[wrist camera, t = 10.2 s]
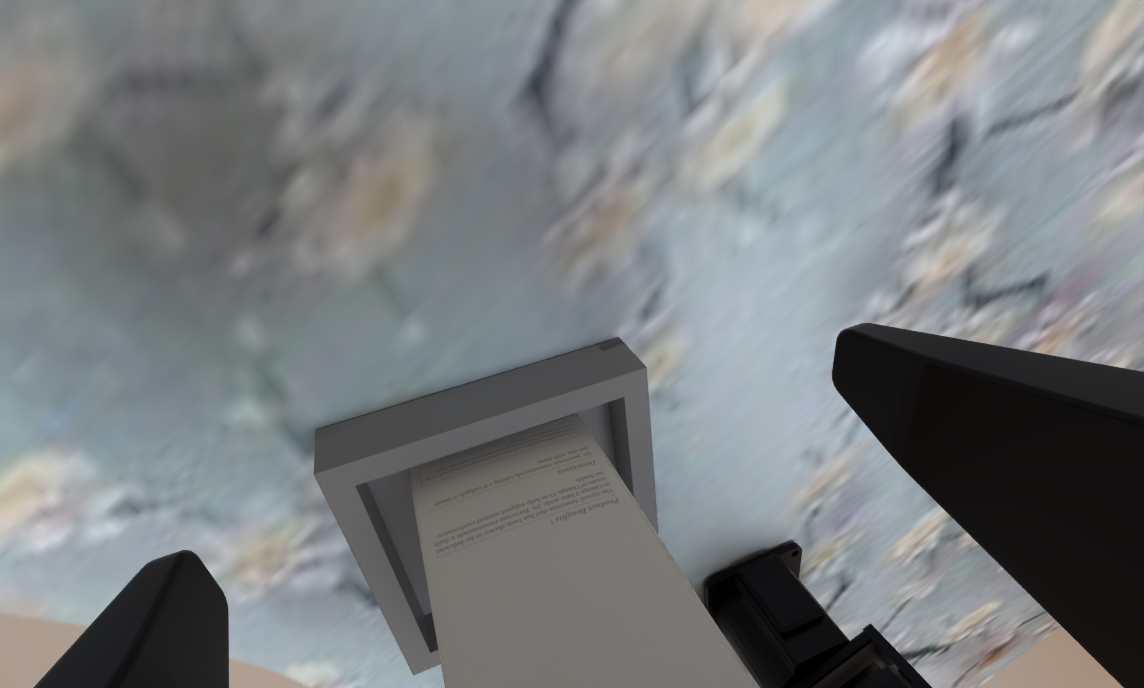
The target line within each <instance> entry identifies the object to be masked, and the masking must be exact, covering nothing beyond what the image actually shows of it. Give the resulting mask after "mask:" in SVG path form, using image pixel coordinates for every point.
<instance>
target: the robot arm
mask: <svg viewBox="0 0 1144 688" xmlns="http://www.w3.org/2000/svg"><path fill="white" fill-rule="evenodd" d="M832 380H833V383H834V386H835V388H836V390H837V391H838V392H839V394H840V395H841V396H842V397H843V398H844V399H845V401H846V402H847V403H848V404H849V405H850V407H851V408H852V409H853V410H854V411H855V413H856V414H857V415H858V416H859V417H860V419H861V420H862V421H863V422H864V423H865V425H866V426H867V427H868V428H869V429H870V431H871V432H872V433H873V434H874V435H875V437H876V438H877V439H878V440H879V441H880V443H881V444H882V445H883V446H884V447H885V449H886V450H887V451H888V452H889V453H890V454H891V456H892V457H893V458H894V459H895V460H896V461H897V462H898V464H899V465H900V466H901V467H902V468H903V469H904V470H905V471H906V472H907V473H908V474H909V475H910V476H911V477H912V478H913V479H914V480H915V481H916V482H917V483H918V484H919V485H920V486H921V487H922V488H923V489H924V490H925V491H926V492H927V493H928V494H929V495H930V496H931V497H932V498H933V499H934V500H935V501H936V502H937V503H938V504H939V505H940V506H941V507H942V508H943V509H944V510H945V511H946V512H947V513H948V514H949V515H950V516H951V517H952V518H953V519H954V520H955V521H956V522H957V523H958V524H959V525H960V526H961V527H962V528H963V529H964V530H965V531H966V532H967V533H968V534H969V535H970V536H971V537H972V538H973V539H974V540H975V541H976V542H977V543H978V544H979V545H980V546H981V547H982V548H983V549H984V550H985V551H986V552H987V553H988V554H989V555H990V556H991V557H992V558H993V559H994V560H995V561H996V562H997V563H998V564H999V565H1001V566H1002V567H1003V568H1004V569H1005V570H1006V571H1007V572H1008V573H1009V574H1010V575H1011V576H1012V577H1013V578H1014V579H1015V580H1016V581H1017V582H1018V583H1019V584H1020V585H1021V586H1022V587H1023V588H1024V589H1025V590H1026V591H1027V592H1028V593H1029V594H1030V595H1031V596H1032V597H1033V598H1034V599H1035V600H1036V601H1037V602H1038V603H1039V604H1040V605H1041V606H1042V607H1043V608H1044V609H1045V610H1046V611H1047V612H1048V613H1049V614H1050V615H1051V616H1052V617H1053V618H1054V619H1055V620H1056V621H1057V622H1058V623H1059V624H1060V625H1061V626H1062V627H1063V628H1064V629H1065V630H1066V631H1067V632H1068V633H1069V634H1070V635H1071V636H1072V637H1073V638H1074V639H1075V640H1076V641H1077V642H1078V643H1079V644H1080V645H1081V646H1082V647H1083V648H1084V649H1085V650H1086V651H1087V652H1088V653H1089V654H1090V655H1091V656H1092V657H1093V658H1095V660H1096V661H1097V662H1098V663H1099V664H1101V666H1102V667H1103V668H1104V669H1105V670H1106V671H1107V672H1108V673H1109V674H1110V675H1111V676H1113V677H1114V678H1115V679H1116V680H1117V681H1118V682H1119V683H1120V684H1121V685H1122V686H1123V687H1124V688H1144V372H1142V371H1136V370H1130V369H1125V368H1119V367H1114V366H1108V365H1102V364H1097V363H1091V362H1086V361H1080V360H1074V359H1069V358H1063V357H1058V356H1052V355H1046V354H1041V353H1035V352H1029V351H1024V350H1018V349H1013V348H1007V347H1001V346H996V345H990V344H985V343H979V342H973V341H968V340H962V339H956V338H951V337H945V336H940V335H934V334H928V333H923V332H917V331H912V330H906V329H900V328H895V327H889V326H884V325H878V324H872V323H862V324H858V325H855V326H852V327H849V328H846V329H844V330H842V331H841V332H840V333H839V335H838V337H837V340H836V347H835V354H834V362H833V369H832ZM801 555H802V548H801V547H800V546H799V545H798V544H797V543H791V544H788V545H786V546H784V547H781V548H779V549H777V550H774V551H772V552H770V553H767V554H765V555H763V556H760V557H758V558H756V559H753V560H751V561H749V562H746V563H744V564H742V565H739V566H737V567H735V568H732V569H730V570H728V571H725V572H723V573H721V574H718V575H716V576H714V577H712V578H710V579H708V580H707V581H706V583H705V608H706V610H707V611H708V613H709V614H710V616H711V617H712V619H713V620H714V622H715V623H716V625H717V626H718V628H719V629H720V631H721V632H722V634H723V635H724V637H725V638H726V640H727V641H728V643H729V644H730V646H731V647H732V649H733V650H734V652H735V653H736V655H737V656H738V658H739V659H740V660H741V662H742V663H743V665H744V666H745V667H746V669H747V670H748V672H749V673H750V674H751V676H752V677H753V679H754V680H755V681H756V683H757V684H758V685H759V687H760V688H932V687H931V686H930V685H929V684H928V683H927V682H926V681H925V680H924V679H923V678H922V676H921V675H920V674H919V673H918V672H917V671H916V670H915V669H914V668H913V667H912V666H911V665H910V664H909V663H908V662H907V661H906V660H905V659H904V658H903V657H902V656H901V655H900V654H899V653H898V652H897V651H896V649H895V648H894V647H893V646H892V645H891V644H890V643H889V642H888V641H887V640H886V639H885V638H884V637H883V636H882V635H881V634H880V633H879V632H878V631H877V630H876V629H875V628H874V627H873V626H872V625H871V624H869V625H868V626H866V627H865V628H864V629H863V632H862V633H860V634H859V635H858V636H856V637H855V638H854V639H852V640H851V641H850V640H849V639H848V638H847V637H846V636H845V635H844V633H843V632H842V631H841V630H840V629H839V627H838V626H837V625H836V624H835V623H834V621H833V620H832V619H831V618H830V617H829V615H828V614H827V613H826V612H825V611H824V609H823V608H822V606H821V605H820V604H819V603H818V602H817V600H816V599H815V598H814V597H813V596H812V594H811V593H810V592H809V591H808V590H807V589H806V587H805V586H804V585H803V584H802V583H801V581H800V580H799V571H800V563H801ZM34 688H229V626H228V605H227V601H226V597H225V595H224V593H223V591H222V589H221V588H220V587H219V585H218V584H217V582H216V581H215V580H214V578H213V577H212V575H211V574H210V572H209V571H208V570H207V568H206V567H205V565H204V564H203V563H202V561H201V560H200V558H199V557H198V556H197V555H196V554H195V553H194V552H192V551H189V550H182V551H179V552H176V553H173V554H170V555H167V556H164V557H161V558H158V559H155V560H153V561H151V562H149V563H147V564H146V565H145V566H144V567H143V568H142V569H141V570H140V571H139V572H138V573H137V574H136V575H135V577H134V578H133V579H132V580H131V581H130V582H129V583H128V584H127V585H126V586H125V588H124V589H123V590H122V591H121V592H120V593H119V594H118V595H117V596H116V597H115V599H114V600H113V601H112V602H111V603H110V604H109V605H108V606H107V607H106V608H105V610H104V611H103V612H102V613H101V614H100V615H99V616H98V617H97V618H96V619H95V621H94V622H93V623H92V624H91V625H90V626H89V627H88V628H87V629H86V630H85V632H84V633H83V634H82V635H81V636H80V637H79V638H78V639H77V641H76V642H75V643H74V644H73V645H72V646H71V647H70V648H69V649H68V650H67V651H66V653H65V654H64V655H63V656H62V657H61V658H60V659H59V660H58V661H57V662H56V664H55V665H54V666H53V667H52V668H51V669H50V670H49V671H48V672H47V673H46V675H45V676H44V677H43V678H42V679H41V680H40V681H39V682H38V683H37V684H36V686H35V687H34Z"/></svg>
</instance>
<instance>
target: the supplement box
mask: <svg viewBox="0 0 1144 688" xmlns="http://www.w3.org/2000/svg"><path fill="white" fill-rule="evenodd" d="M408 475H409V482H410V487H411V493H412V499H413V504H414V510H415V516H416V521H417V527H418V533H419V539H420V544H421V550H422V556H423V562H424V568H425V574H426V580H427V585H428V591H429V597H430V603H431V609H432V615H433V621H434V626H435V632H436V638H437V644H438V649H439V655H440V661H441V667H442V672H443V678H444V684H445V688H760V687H759V685H758V684H757V683H756V681H755V680H754V679H753V677H752V676H751V674H750V673H749V672H748V670H747V669H746V667H745V666H744V665H743V663H742V662H741V660H740V659H739V658H738V656H737V655H736V653H735V652H734V650H733V649H732V647H731V646H730V644H729V643H728V641H727V640H726V638H725V637H724V635H723V634H722V632H721V631H720V629H719V628H718V626H717V625H716V623H715V622H714V620H713V619H712V617H711V616H710V614H709V613H708V611H707V610H706V608H705V607H704V605H703V604H702V602H701V600H700V599H699V597H698V596H697V594H696V593H695V591H694V590H693V588H692V586H691V585H690V583H689V582H688V580H687V579H686V577H685V576H684V574H683V573H682V571H681V570H680V568H679V567H678V565H677V563H676V562H675V560H674V559H673V557H672V556H671V554H670V553H669V551H668V550H667V548H666V547H665V545H664V543H663V542H662V540H661V539H660V537H659V536H658V534H657V532H656V531H655V529H654V528H653V526H652V525H651V523H650V522H649V520H648V519H647V517H646V516H645V514H644V513H643V511H642V510H641V508H640V507H639V505H638V503H637V502H636V500H635V499H634V497H633V496H632V494H631V493H630V491H629V490H628V488H627V487H626V485H625V484H624V482H623V480H622V479H621V477H620V476H619V474H618V473H617V471H616V470H615V468H614V467H613V465H612V464H611V462H610V461H609V459H608V458H607V456H606V455H605V454H604V452H603V451H602V449H601V448H600V447H599V445H598V444H597V442H596V440H595V439H594V437H593V436H592V434H591V433H590V431H589V430H588V428H587V427H586V425H585V424H584V423H583V421H582V420H581V418H580V417H579V415H578V414H573V415H570V416H567V417H564V418H561V419H558V420H555V421H551V422H548V423H545V424H542V425H539V426H536V427H533V428H529V429H526V430H523V431H520V432H517V433H514V434H511V435H508V436H505V437H502V438H498V439H495V440H492V441H489V442H486V443H483V444H480V445H477V446H474V447H471V448H468V449H465V450H462V451H459V452H456V453H453V454H450V455H447V456H444V457H441V458H438V459H435V460H432V461H429V462H426V463H423V464H420V465H417V466H414V467H411V468H408Z"/></svg>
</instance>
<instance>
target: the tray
mask: <svg viewBox="0 0 1144 688" xmlns="http://www.w3.org/2000/svg"><path fill="white" fill-rule="evenodd" d="M573 414H578V415H579V417H580V418H581V420H582V421H583V423H584V424H585V425H586V427H587V428H588V430H589V431H590V433H591V434H592V436H593V437H594V439H595V440H596V442H597V444H598V445H599V447H600V448H601V449H602V451H603V452H604V454H605V455H606V456H607V458H608V459H609V461H610V462H611V464H612V465H613V467H614V468H615V470H616V471H617V473H618V474H619V476H620V477H621V479H622V480H623V482H624V484H625V485H626V487H627V488H628V490H629V491H630V493H631V494H632V496H633V497H634V499H635V500H636V502H637V503H638V505H639V507H640V508H641V510H642V511H643V513H644V514H645V516H646V517H647V519H648V520H649V522H650V523H651V525H652V526H653V528H654V529H655V531H656V532H657V534H658V523H657V508H656V494H655V480H654V466H653V452H652V437H651V423H650V409H649V395H648V381H647V367H646V366H645V365H644V364H643V363H642V362H641V361H640V360H639V359H638V357H637V356H636V355H635V354H634V353H633V352H632V351H631V350H630V349H629V348H628V347H627V346H626V344H625V343H624V342H623V341H622V340H621V339H620V338H616V339H613V340H609V341H606V342H603V343H600V344H596V345H593V346H590V347H587V348H583V349H580V350H577V351H573V352H570V353H567V354H564V355H560V356H557V357H554V358H550V359H547V360H544V361H541V362H537V363H534V364H531V365H527V366H524V367H521V368H518V369H514V370H511V371H508V372H504V373H501V374H498V375H495V376H491V377H488V378H485V379H481V380H478V381H475V382H472V383H468V384H465V385H462V386H458V387H455V388H452V389H449V390H445V391H442V392H439V393H436V394H432V395H429V396H426V397H422V398H419V399H416V400H413V401H409V402H406V403H403V404H399V405H396V406H393V407H390V408H386V409H383V410H380V411H376V412H373V413H370V414H367V415H363V416H360V417H357V418H353V419H350V420H347V421H344V422H340V423H337V424H334V425H330V426H327V427H324V428H321V429H317V430H316V439H315V461H314V476H315V478H316V480H317V482H318V484H319V486H320V488H321V490H322V492H323V494H324V496H325V498H326V500H327V502H328V504H329V506H330V508H331V510H332V512H333V514H334V516H335V518H336V520H337V522H338V524H339V526H340V528H341V530H342V532H343V534H344V536H345V538H346V540H347V542H348V544H349V546H350V548H351V550H352V552H353V554H354V556H355V558H356V561H357V563H358V565H359V567H360V569H361V571H362V573H363V575H364V577H365V579H366V581H367V583H368V585H369V587H370V589H371V591H372V593H373V595H374V597H375V599H376V601H377V603H378V605H379V607H380V609H381V611H382V613H383V615H384V617H385V619H386V621H387V623H388V625H389V627H390V629H391V631H392V633H393V635H394V637H395V639H396V641H397V643H398V645H399V647H400V649H401V651H402V653H403V655H404V657H405V659H406V662H407V664H408V666H409V668H410V670H411V672H412V674H413V675H415V674H418V673H420V672H423V671H425V670H427V669H430V668H432V667H435V666H437V665H439V664H441V661H440V655H439V649H438V644H437V638H436V632H435V626H434V621H433V615H432V609H431V603H430V597H429V591H428V585H427V580H426V574H425V568H424V562H423V556H422V550H421V544H420V539H419V533H418V527H417V521H416V516H415V510H414V504H413V499H412V493H411V487H410V482H409V475H408V468H411V467H414V466H417V465H420V464H423V463H426V462H429V461H432V460H435V459H438V458H441V457H444V456H447V455H450V454H453V453H456V452H459V451H462V450H465V449H468V448H471V447H474V446H477V445H480V444H483V443H486V442H489V441H492V440H495V439H498V438H502V437H505V436H508V435H511V434H514V433H517V432H520V431H523V430H526V429H529V428H533V427H536V426H539V425H542V424H545V423H548V422H551V421H555V420H558V419H561V418H564V417H567V416H570V415H573Z"/></svg>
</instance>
